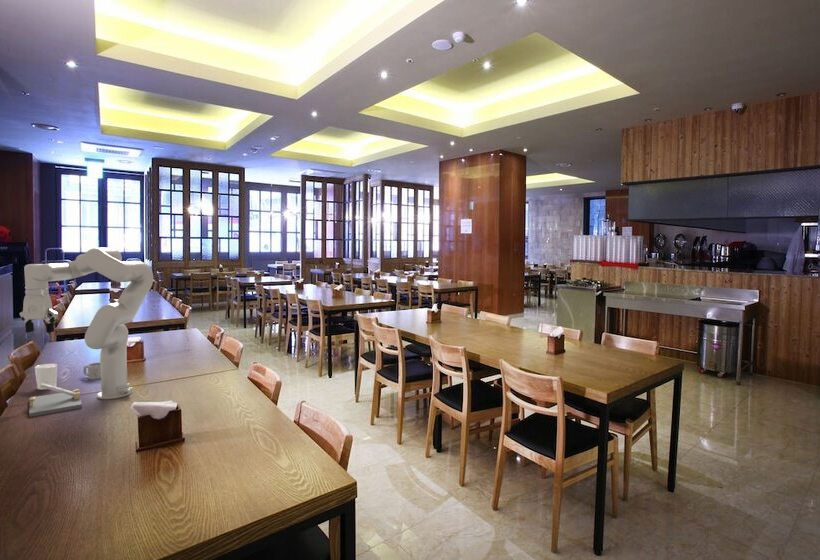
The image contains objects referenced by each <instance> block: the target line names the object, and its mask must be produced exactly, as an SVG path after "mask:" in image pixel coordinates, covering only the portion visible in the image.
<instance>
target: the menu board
mask: <svg viewBox="0 0 820 560" xmlns="http://www.w3.org/2000/svg"><path fill="white" fill-rule="evenodd" d="M71 391H72V392H76V393H74V396H71V395H67V394H64V393H60V392H57V393H52V394H51V393H50V394H45V395H39V396H29V409H28V410H29V411H28V414H29V418H32V416H33V417H37V416H44V415H49V414H54V413H61V412H66V411H72V410H77V409H82V407H83V403H82V400H81V392H80V389H79V388H78V389H73V390H71Z"/></svg>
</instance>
